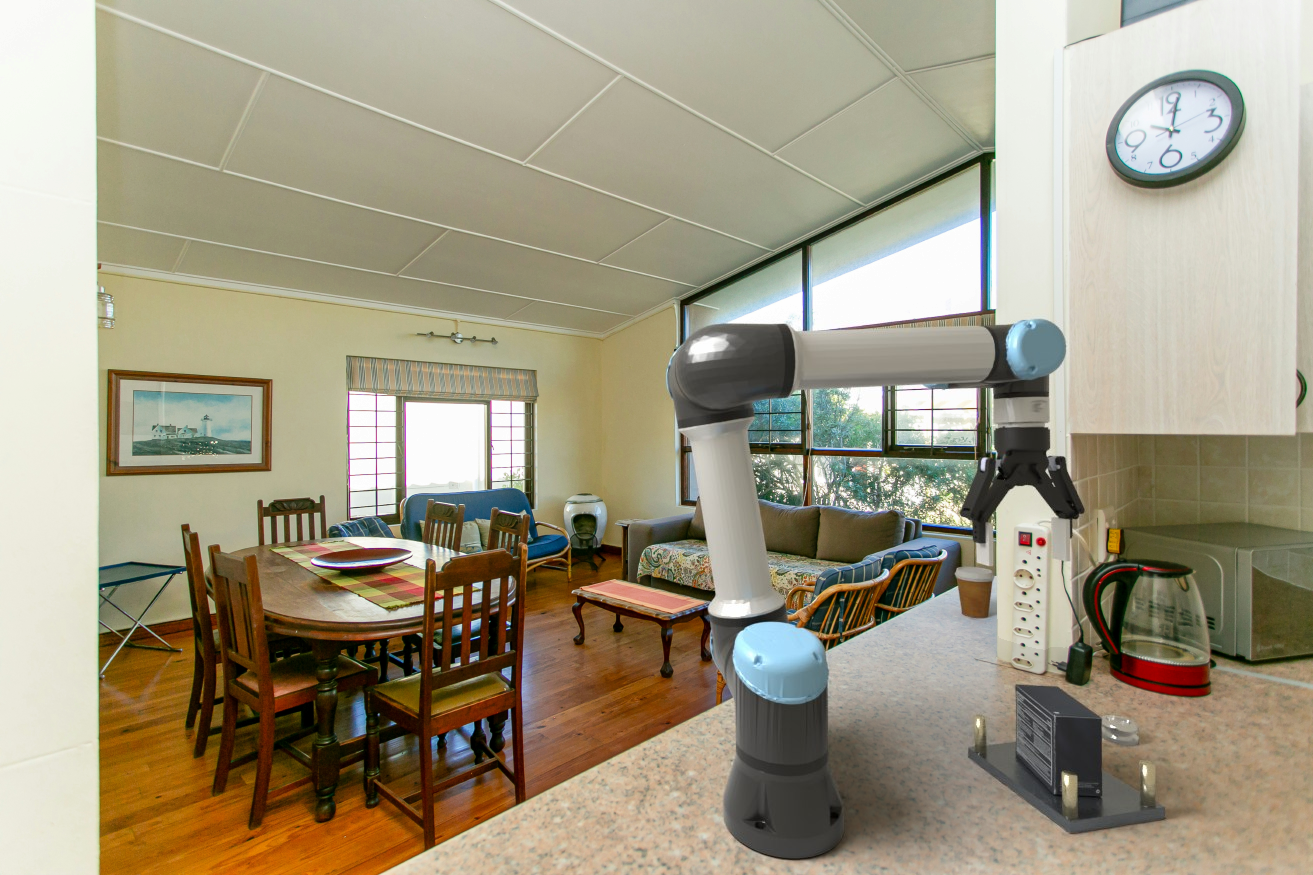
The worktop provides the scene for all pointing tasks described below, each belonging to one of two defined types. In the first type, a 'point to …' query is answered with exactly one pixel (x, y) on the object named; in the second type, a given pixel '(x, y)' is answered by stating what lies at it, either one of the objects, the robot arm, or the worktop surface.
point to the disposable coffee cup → (974, 590)
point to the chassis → (1070, 789)
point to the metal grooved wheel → (1119, 730)
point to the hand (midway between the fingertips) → (1023, 562)
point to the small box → (1058, 738)
